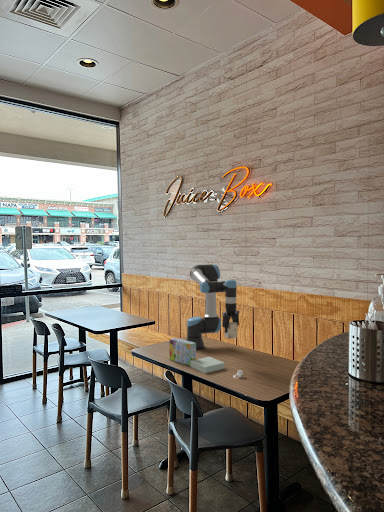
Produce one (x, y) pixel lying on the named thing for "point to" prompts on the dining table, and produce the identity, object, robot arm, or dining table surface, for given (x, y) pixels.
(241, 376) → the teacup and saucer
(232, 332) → the maple block
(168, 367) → the dining table surface
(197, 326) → the robot arm
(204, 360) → the sage base plate
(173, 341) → the snack box
